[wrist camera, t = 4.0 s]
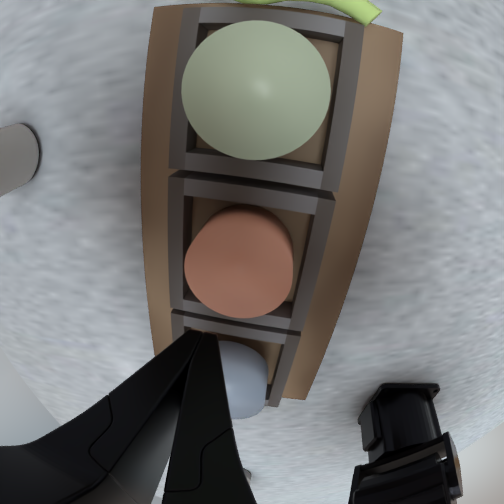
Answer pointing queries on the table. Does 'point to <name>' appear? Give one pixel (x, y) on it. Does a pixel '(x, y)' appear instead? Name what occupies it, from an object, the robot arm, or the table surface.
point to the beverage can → (17, 157)
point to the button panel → (266, 184)
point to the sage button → (256, 90)
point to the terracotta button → (241, 262)
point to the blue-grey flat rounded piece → (243, 379)
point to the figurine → (338, 7)
